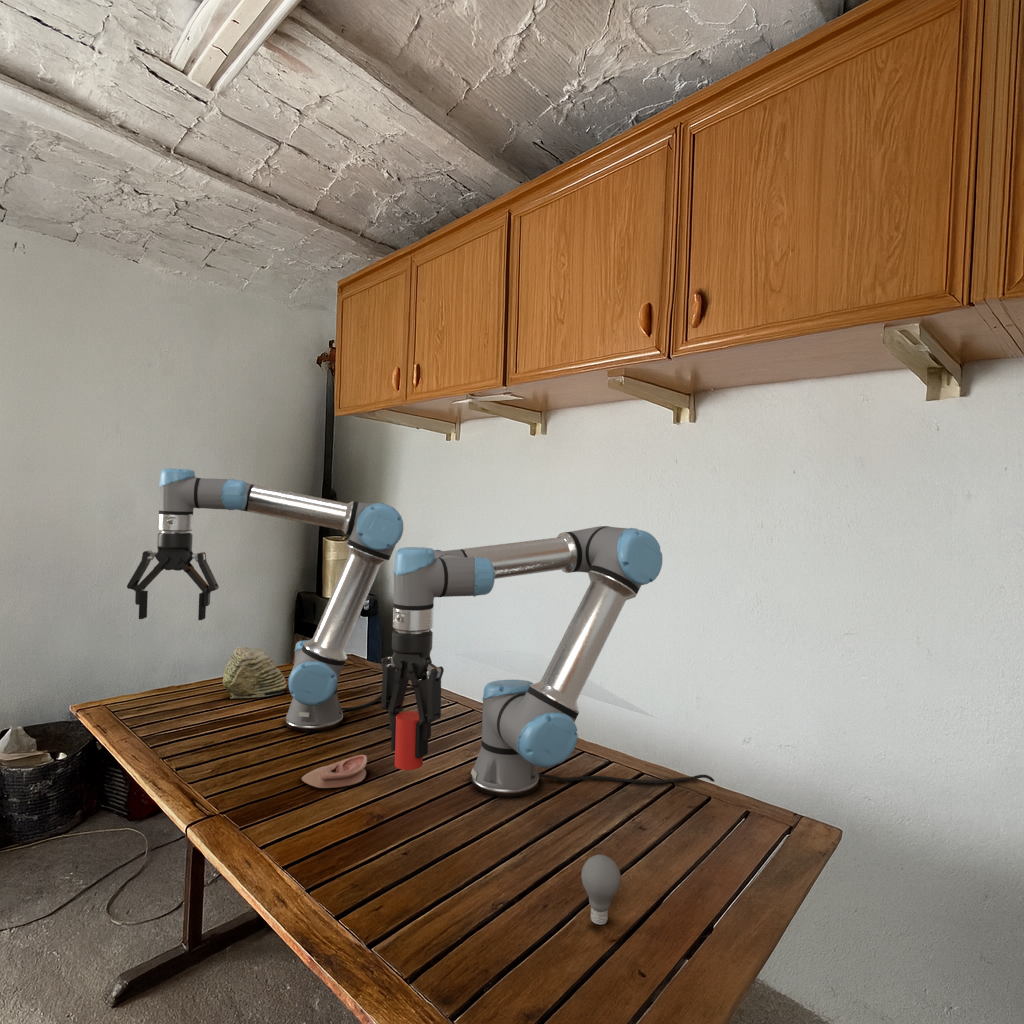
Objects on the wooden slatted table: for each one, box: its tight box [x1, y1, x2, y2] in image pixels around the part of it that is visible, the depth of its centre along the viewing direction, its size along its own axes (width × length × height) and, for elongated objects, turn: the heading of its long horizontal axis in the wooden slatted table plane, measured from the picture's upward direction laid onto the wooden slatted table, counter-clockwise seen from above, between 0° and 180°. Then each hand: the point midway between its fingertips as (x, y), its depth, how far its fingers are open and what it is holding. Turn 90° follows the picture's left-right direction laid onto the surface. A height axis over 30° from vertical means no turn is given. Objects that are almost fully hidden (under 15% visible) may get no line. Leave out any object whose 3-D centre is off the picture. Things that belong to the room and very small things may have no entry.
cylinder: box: [394, 710, 424, 771], centre depth 120 cm, size 5×5×9 cm
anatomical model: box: [301, 754, 368, 789], centre depth 143 cm, size 13×4×12 cm
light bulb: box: [580, 854, 622, 926], centre depth 97 cm, size 6×6×10 cm
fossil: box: [222, 646, 288, 699], centre depth 198 cm, size 9×18×15 cm, turn 132°
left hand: (172, 618), depth 155 cm, fingers open, 13 cm apart
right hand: (409, 751), depth 120 cm, fingers closed on cylinder, 5 cm apart
